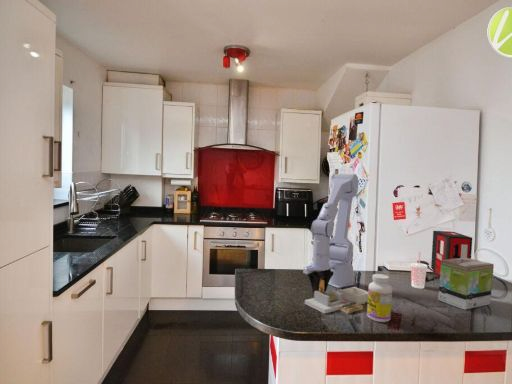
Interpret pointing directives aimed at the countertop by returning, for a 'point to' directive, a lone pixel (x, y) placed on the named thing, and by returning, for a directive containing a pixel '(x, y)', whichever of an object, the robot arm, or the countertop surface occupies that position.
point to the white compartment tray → (326, 301)
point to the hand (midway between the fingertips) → (319, 291)
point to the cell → (321, 285)
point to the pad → (331, 297)
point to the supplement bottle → (379, 298)
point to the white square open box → (355, 295)
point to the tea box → (465, 283)
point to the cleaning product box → (449, 248)
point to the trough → (351, 307)
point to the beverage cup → (418, 274)
